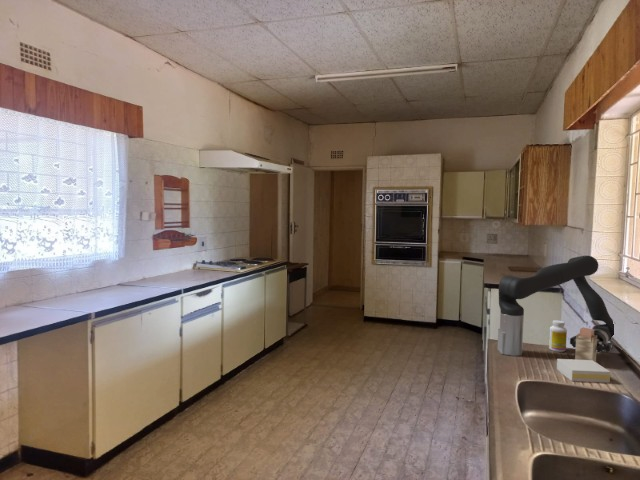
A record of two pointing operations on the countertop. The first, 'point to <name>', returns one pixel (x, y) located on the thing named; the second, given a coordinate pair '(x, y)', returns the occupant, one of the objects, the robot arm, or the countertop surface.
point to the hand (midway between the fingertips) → (585, 347)
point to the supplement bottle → (557, 336)
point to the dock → (583, 370)
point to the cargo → (587, 332)
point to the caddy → (585, 348)
